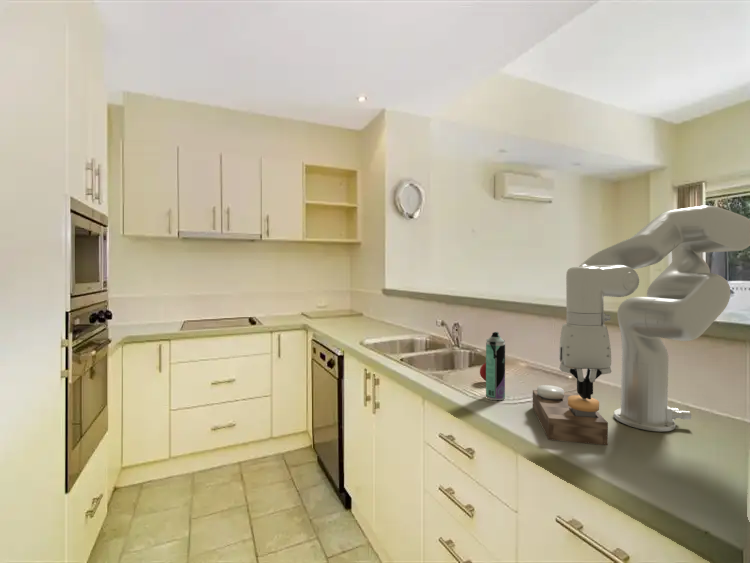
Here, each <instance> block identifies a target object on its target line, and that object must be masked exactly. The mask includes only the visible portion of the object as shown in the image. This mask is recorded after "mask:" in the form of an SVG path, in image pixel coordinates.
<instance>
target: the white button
mask: <svg viewBox="0 0 750 563" xmlns="http://www.w3.org/2000/svg"><path fill="white" fill-rule="evenodd" d="M536 390H537V394H538V395H539V396H541V398H542V400H556V401H561V399H562V398H564V392H565V390H564V389H563V388H562V387H560V386H556V385H551V384H549V385H548V384H541V385H537V387H536Z"/></svg>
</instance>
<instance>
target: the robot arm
mask: <svg viewBox="0 0 750 563" xmlns="http://www.w3.org/2000/svg"><path fill="white" fill-rule="evenodd" d="M749 247H750V219H749V218H748V217H746V216H745V215H742V214H740V213H736V212H735V211H734V212H733V211H731V210H728V209H725V208H722V207H718V206H714V205H700V206H699V205H698V206H692V207H684V208H678V209H671V210H668V211H665V212H663V213H660V214H659V215H658V216H655V218H654V219H652V220H651V221H650V222H648V223H647V224H646V225H645V226H644V227H643V228H642V229H640V230H639V231H637V232H636V234H634V235H633V236H631V237H630V238H629V237H628V239H625V240H622V241H620V242H617V243H615V244H614V245H611V246H609V247H606V248H604V249H602V250H600V251H597V252H596V253H594V254H592V255H591V256H590V257H588V258H587V259H586V260H585V261H583V262H582V263H581V264H579V265H578V266H574V267H570V268H568V269H567V271H566V278H565V280H566V292H565V293H566V294H565V295H566V301H565V302H566V323H563V324H562V326H561V332H560V338H559V340H560V341H559V349H558V350H559V351H558V358H559V361H560V364H559V367H558V368H559V370H560V371H561V372H563V373H566V374H571V375H572V376H573V377H574V378H575V379H576V393H578V394H579V395H580V396H581V397H582V398H583V399H586V398H587V399H591V398H592V395H594V382H596V380H597V379H598V378H599V377H600V376H601V375H608V374H611V373H612V369H611V366H612V351H611V350H612V348H611V342H610V340H611V339H610V335H609V331H608V327H607V326H606V325H605V323H606V322H607V321H611V315H610V314H606V313H605V312H604V311H605V310H604V307H605V306H604V305H605V304H604V302H605V301H604V297H611V298H623V297H627V296H630V295H632V294H634V292H636V290H637V289H638V288H639V285H640V277H639V274H638V272H636V271H635V270H637V269H638V270H639V269H642V268H647V267H650V266H653V265H656V264H658V263H660V262H661V261H663V260H664V259H665V258H666V257H667V256H668V255H669V254H670V253H671V263H670V264H669V265H668V266H667V267H666V268H665V269H664V270H662V272H661V273H659V275H657V277H656V278H655V279H654V280H653V281H652V282H651V283H650V284H649V286H648V288H647V291H646V296H634V297H629V298H626V299H625V300H623V301H622V302H621V303H620V304H619V307H618V309H617V314H616V316H617V322H618V327H619V332H620V338H621V377H620V378H621V380H620V381H621V384H620V385H621V386H620V388H621V389H620V390H621V391H620V393H621V394H620V395H621V396H620V397H621V398H620V407H619V408H617V409H615V410H614V411H613V417H614V419H616V420H617V421H618V422H620V423H622V424H623V425H626V426H629V427H632V428H635V429H639V430H645V431H650V432H661V433H662V432H670V431H673V430H675V429H676V421H674V420H677V419H680V420H692V413H691V411H689V410H688V411H686V410H680V409H679V408H676V407H670V406H669V405H668V402H669V401H668V400H669V399H668V397H669V393H668V392H669V353H668V349H667V347H666V345H665V344H664V342H663V340H662V339H668V340H673V341H678V342H679V341H681V342H690V341H691V342H692V341H693V340H696V339H699V337H701V336H702V335H703V334H704V333H705V332H706V330H707V329H709V328H710V326H712V324H713V323H714V322H715V321H716V320H717V319H718V318H719V317H720V315H721V314H722V313H723V312H724V310H725V309H726V308H727V306H728V304H729V302H730V298H731V287H730V283H729V282H728V280H727V279H726V278H724V277H723V276H722V275H719V274H717V273H712V272H711V269H710V267H709V265H708V263H707V262H706V260H704V259H703V258H702V257H701V254H702V253H722V252H737V251H744V250H746V249H748V248H749ZM700 253H701V254H700ZM661 338H662V339H661ZM583 370H586V373H585V377H584V371H583Z"/></svg>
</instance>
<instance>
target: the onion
mask: <svg viewBox="0 0 750 563" xmlns="http://www.w3.org/2000/svg"><path fill="white" fill-rule="evenodd" d="M479 375H480V377H481V378H482V379H483V380H484V382H486V362H485V363H483V364H482V365H481V367H480V369H479Z"/></svg>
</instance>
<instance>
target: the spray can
mask: <svg viewBox="0 0 750 563" xmlns="http://www.w3.org/2000/svg"><path fill="white" fill-rule="evenodd" d="M505 342H506V341H505V340H504V339H503V338H502V337H501V336H500V334H499V332H498V331H494V332H492V335H490V337H489V338H487V339H486V340H485V363H486V381H485V398H486V397H487V398H489V399H492V400H503V401H505V400H506V343H505ZM487 398H486V399H487ZM489 399H488V400H489ZM504 399H505V400H504ZM492 400H491V401H492Z"/></svg>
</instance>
